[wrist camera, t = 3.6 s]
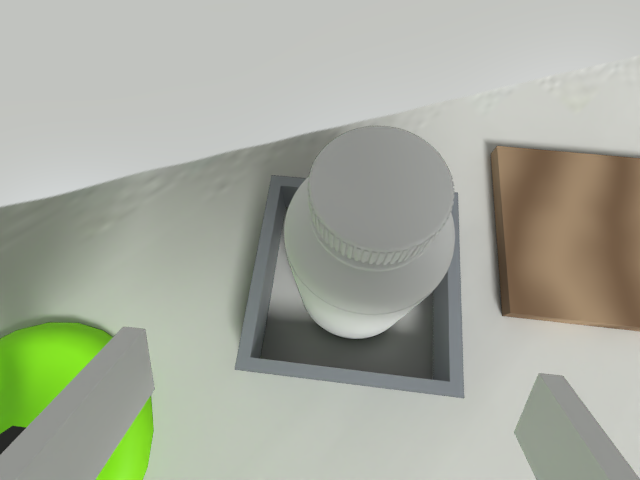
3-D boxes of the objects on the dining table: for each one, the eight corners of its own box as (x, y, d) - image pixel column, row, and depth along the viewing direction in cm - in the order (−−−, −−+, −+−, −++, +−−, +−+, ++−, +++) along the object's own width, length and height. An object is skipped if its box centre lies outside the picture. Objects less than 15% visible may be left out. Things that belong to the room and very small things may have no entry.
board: (708, 173, 29) (723, 165, 28) (764, 345, 24) (785, 343, 23) (490, 154, 30) (497, 145, 29) (502, 315, 25) (510, 313, 24)
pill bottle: (329, 220, 28) (334, 70, 14) (421, 265, 27) (527, 145, 13) (279, 307, 26) (227, 227, 12) (378, 361, 24) (451, 342, 10)
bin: (442, 213, 28) (457, 192, 25) (444, 395, 24) (464, 398, 20) (277, 197, 29) (271, 175, 26) (246, 370, 24) (234, 369, 21)
